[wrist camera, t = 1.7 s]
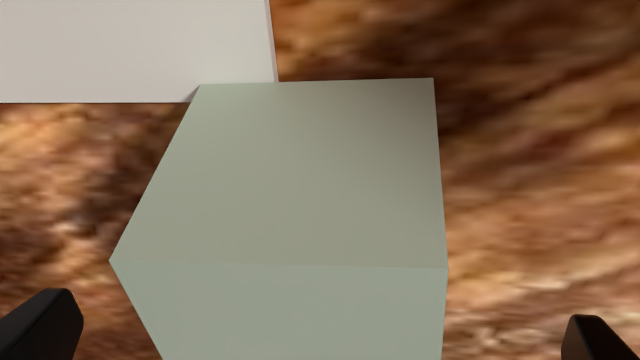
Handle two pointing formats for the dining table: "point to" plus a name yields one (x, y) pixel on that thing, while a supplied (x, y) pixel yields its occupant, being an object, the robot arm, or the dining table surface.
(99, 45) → the white base plate
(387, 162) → the sage cube
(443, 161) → the dining table surface
